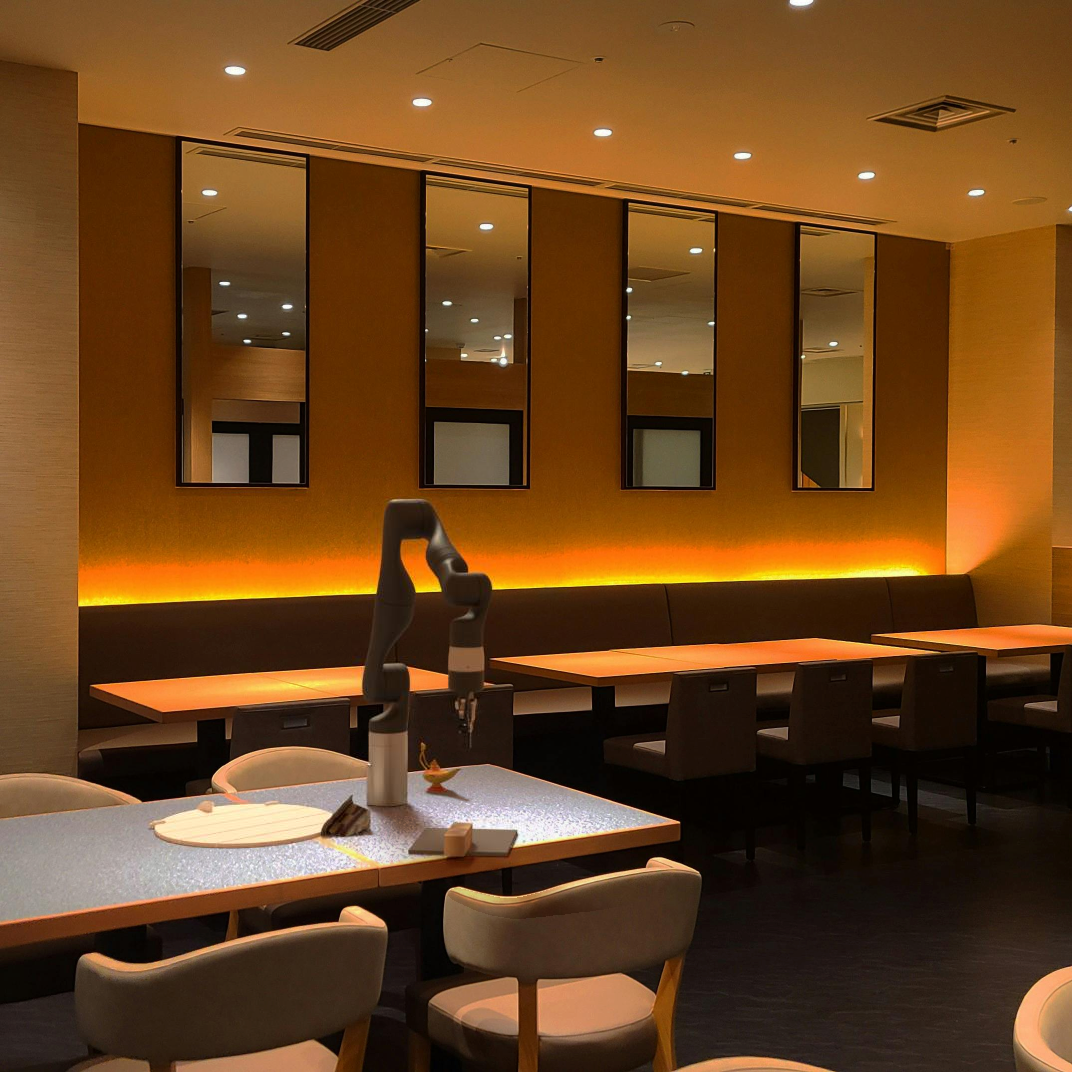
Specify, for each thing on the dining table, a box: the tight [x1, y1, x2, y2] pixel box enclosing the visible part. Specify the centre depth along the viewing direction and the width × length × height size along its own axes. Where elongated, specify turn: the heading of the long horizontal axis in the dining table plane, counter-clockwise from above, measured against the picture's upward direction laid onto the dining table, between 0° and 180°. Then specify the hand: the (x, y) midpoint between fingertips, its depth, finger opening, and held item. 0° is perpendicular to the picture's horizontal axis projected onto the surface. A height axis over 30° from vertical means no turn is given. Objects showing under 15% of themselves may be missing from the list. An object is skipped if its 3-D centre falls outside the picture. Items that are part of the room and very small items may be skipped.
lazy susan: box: [148, 800, 334, 849], centre depth 288 cm, size 40×39×3 cm
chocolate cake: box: [321, 794, 372, 838], centre depth 283 cm, size 10×7×12 cm
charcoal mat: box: [407, 827, 518, 857], centre depth 272 cm, size 20×20×1 cm
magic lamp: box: [419, 742, 463, 793], centre depth 328 cm, size 7×18×11 cm, turn 40°
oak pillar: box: [443, 821, 474, 858], centre depth 264 cm, size 4×4×12 cm
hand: (465, 749), depth 275 cm, fingers closed
